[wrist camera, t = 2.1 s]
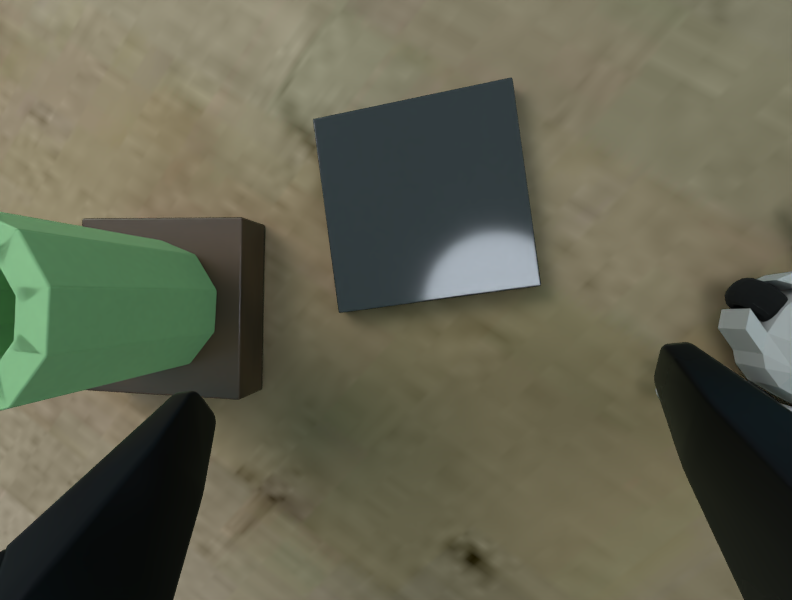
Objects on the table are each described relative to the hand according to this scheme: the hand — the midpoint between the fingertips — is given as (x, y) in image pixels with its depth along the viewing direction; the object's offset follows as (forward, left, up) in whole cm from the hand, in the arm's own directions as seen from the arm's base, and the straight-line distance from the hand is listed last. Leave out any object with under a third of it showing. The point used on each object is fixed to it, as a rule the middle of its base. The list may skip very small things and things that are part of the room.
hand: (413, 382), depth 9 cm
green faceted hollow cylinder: (+1, +15, -12) cm, 19 cm away
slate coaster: (+6, +1, -14) cm, 16 cm away
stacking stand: (+1, +15, -14) cm, 20 cm away
